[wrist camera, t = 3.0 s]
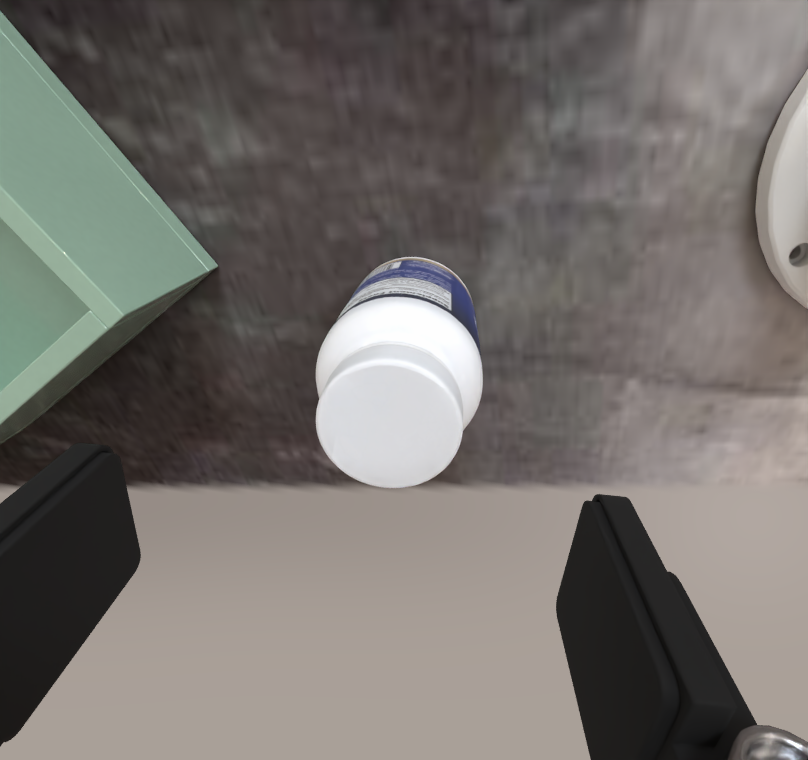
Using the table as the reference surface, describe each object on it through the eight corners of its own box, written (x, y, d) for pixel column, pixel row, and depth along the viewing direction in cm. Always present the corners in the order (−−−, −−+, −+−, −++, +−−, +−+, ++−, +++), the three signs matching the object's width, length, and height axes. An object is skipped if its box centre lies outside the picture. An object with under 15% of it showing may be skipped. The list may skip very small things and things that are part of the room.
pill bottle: (464, 378, 23) (470, 523, 14) (349, 362, 23) (286, 496, 15) (485, 262, 21) (508, 351, 12) (358, 246, 21) (288, 321, 12)
